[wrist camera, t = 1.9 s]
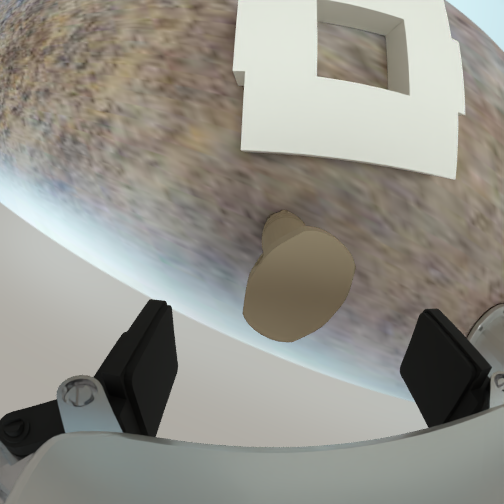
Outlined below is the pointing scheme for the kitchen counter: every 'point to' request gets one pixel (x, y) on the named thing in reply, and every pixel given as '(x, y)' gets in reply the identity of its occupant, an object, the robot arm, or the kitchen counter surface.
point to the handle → (296, 279)
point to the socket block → (351, 85)
